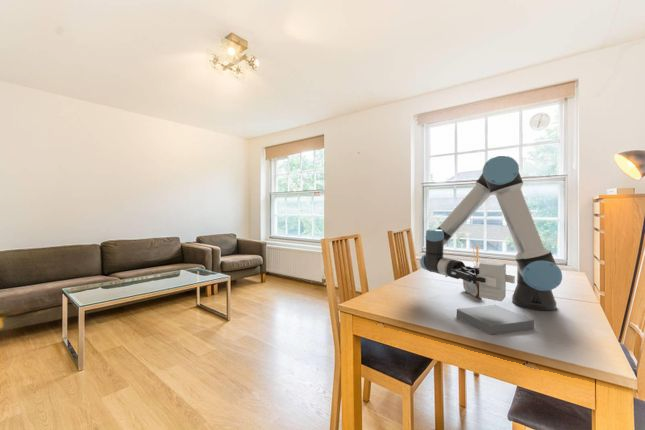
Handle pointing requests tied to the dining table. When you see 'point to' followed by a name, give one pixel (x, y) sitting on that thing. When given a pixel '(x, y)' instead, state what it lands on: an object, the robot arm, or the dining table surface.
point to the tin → (471, 288)
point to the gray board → (495, 319)
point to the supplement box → (497, 272)
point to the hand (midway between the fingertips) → (504, 281)
